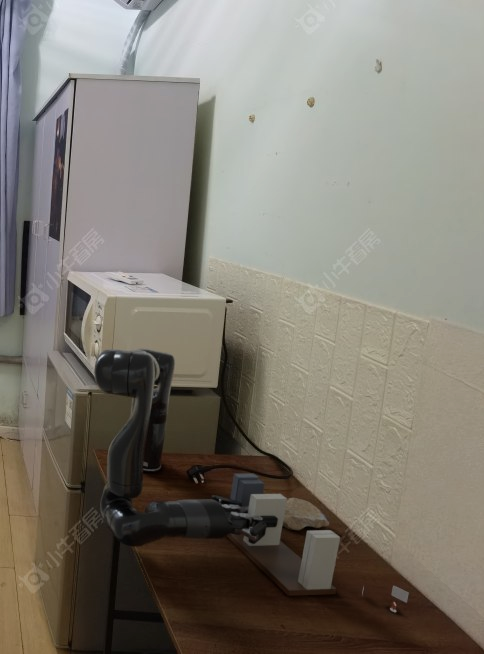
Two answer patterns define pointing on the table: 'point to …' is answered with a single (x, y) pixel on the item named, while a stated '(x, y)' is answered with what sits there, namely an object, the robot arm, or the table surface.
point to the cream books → (318, 559)
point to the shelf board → (278, 566)
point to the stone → (302, 515)
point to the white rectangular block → (268, 507)
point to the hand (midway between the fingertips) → (271, 517)
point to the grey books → (245, 487)
